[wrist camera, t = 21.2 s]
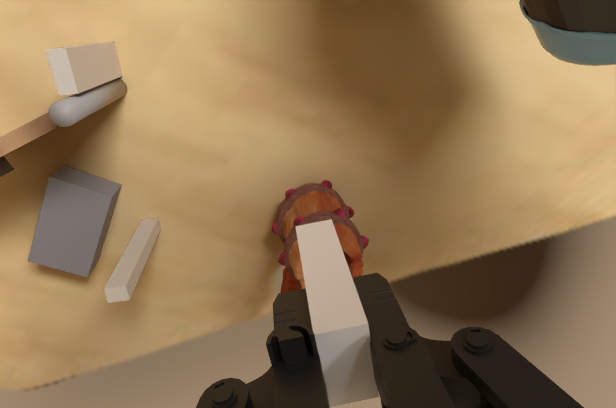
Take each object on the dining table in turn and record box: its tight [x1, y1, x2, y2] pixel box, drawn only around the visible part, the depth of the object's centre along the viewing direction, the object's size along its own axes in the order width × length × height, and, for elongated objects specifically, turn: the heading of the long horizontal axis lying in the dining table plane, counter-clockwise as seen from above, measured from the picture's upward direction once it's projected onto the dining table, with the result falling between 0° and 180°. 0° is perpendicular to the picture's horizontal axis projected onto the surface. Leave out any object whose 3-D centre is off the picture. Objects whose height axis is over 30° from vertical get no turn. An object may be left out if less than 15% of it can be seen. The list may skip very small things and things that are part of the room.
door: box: [0, 112, 59, 177], centre depth 38 cm, size 12×3×12 cm, turn 116°
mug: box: [272, 180, 369, 293], centre depth 45 cm, size 15×8×15 cm, turn 158°
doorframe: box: [45, 42, 161, 303], centre depth 39 cm, size 20×2×14 cm, turn 5°
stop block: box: [28, 165, 122, 277], centre depth 46 cm, size 10×6×4 cm, turn 156°
